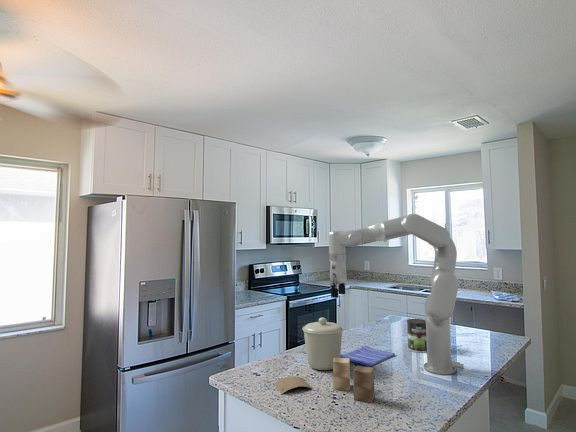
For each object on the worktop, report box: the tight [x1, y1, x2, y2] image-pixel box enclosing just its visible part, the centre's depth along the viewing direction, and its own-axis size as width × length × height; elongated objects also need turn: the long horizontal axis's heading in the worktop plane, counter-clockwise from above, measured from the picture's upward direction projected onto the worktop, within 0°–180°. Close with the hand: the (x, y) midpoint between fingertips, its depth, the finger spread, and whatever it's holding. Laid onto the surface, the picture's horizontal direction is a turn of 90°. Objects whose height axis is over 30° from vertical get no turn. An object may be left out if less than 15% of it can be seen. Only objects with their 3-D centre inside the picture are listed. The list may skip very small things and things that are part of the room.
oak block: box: [332, 358, 351, 392], centre depth 136 cm, size 6×5×10 cm
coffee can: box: [406, 318, 427, 354], centre depth 180 cm, size 10×10×14 cm
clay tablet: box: [273, 375, 313, 395], centre depth 137 cm, size 14×10×3 cm
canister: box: [302, 317, 345, 371], centre depth 159 cm, size 18×18×21 cm
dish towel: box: [340, 345, 396, 368], centre depth 169 cm, size 17×24×3 cm
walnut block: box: [352, 365, 376, 403], centre depth 126 cm, size 6×5×10 cm
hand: (338, 295), depth 164 cm, fingers open, 9 cm apart
